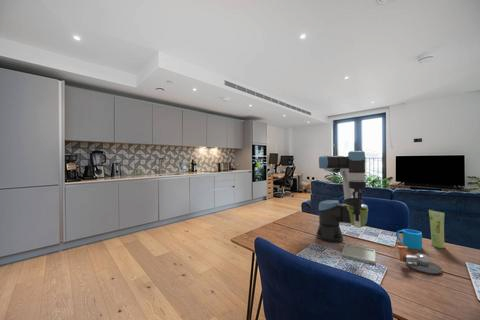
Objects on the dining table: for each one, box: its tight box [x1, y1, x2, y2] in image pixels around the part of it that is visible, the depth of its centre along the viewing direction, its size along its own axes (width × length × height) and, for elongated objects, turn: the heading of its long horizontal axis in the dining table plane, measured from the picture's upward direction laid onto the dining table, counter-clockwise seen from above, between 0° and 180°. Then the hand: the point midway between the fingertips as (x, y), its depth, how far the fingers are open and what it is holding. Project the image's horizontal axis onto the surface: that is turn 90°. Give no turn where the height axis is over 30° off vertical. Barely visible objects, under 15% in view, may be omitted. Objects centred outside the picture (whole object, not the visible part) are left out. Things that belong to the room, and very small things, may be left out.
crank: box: [396, 245, 430, 266], centre depth 87 cm, size 12×4×7 cm, turn 82°
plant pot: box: [347, 206, 369, 228], centre depth 99 cm, size 9×9×9 cm
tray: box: [341, 243, 376, 265], centre depth 99 cm, size 14×14×1 cm
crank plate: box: [404, 260, 443, 276], centre depth 87 cm, size 12×12×1 cm
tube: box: [428, 209, 445, 249], centre depth 107 cm, size 6×5×20 cm
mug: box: [395, 228, 423, 250], centre depth 109 cm, size 12×8×8 cm
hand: (358, 224), depth 99 cm, fingers closed on plant pot, 8 cm apart
